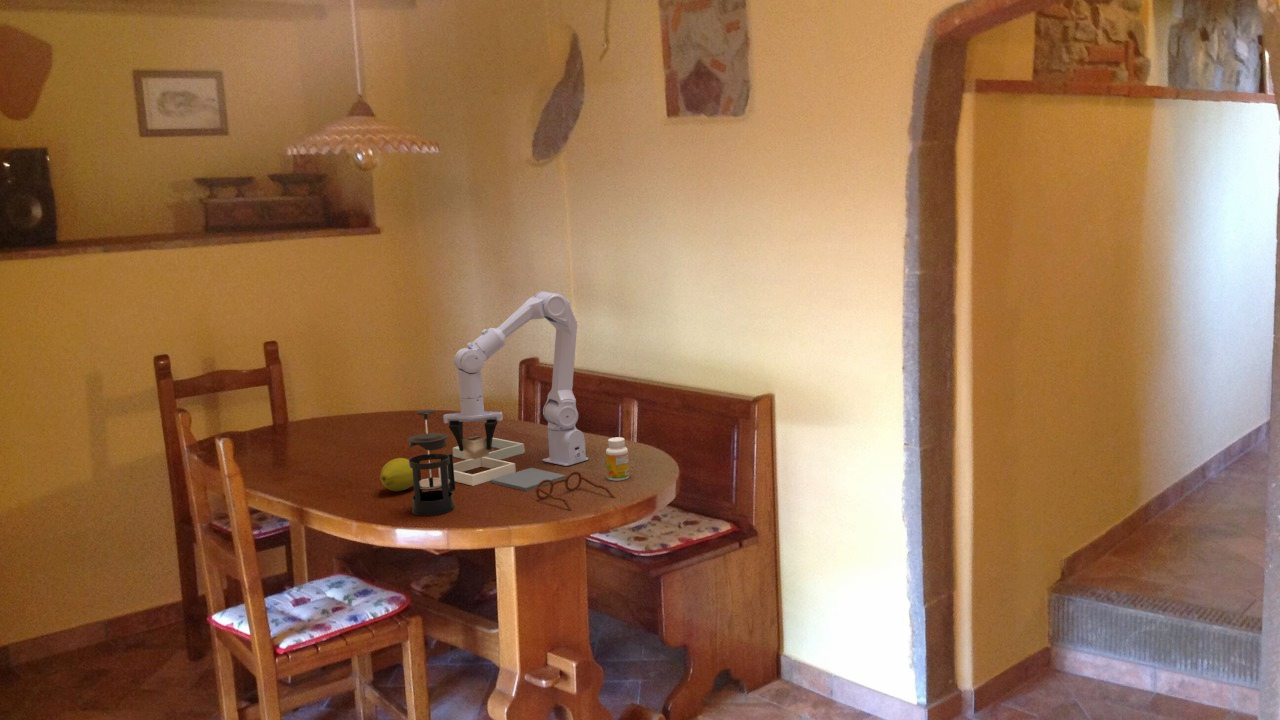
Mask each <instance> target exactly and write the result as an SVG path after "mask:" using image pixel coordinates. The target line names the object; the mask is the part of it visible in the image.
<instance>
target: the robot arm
mask: <svg viewBox="0 0 1280 720" xmlns="http://www.w3.org/2000/svg"><path fill="white" fill-rule="evenodd" d="M540 319H542V320H543V319H546V320H547V321H548V322H549V323H550V324H551V325H552V326H553V327H554V329H555V337H554V338H555V339H554V352H553V353H554V354H553V367H552V379H551V389H550V391H549V392H548V393H547V400H546V402H545V404H544V406H543V409H542V414H543V417H544V419H545V420H546V421H547V439H548V440H547V441H548V443H547V444H548V455H549V456H548V457H547V458H546V457H545V458H542V462H545V463H550V464H555V465H559V466H564V467H567V466H573V465H575V464H578V463H582V462H585V461H588V460H589V457H587V454H586V453H587V452H586V438H585V435H584V432H582V430H579V429H578V428H577V427H576V424H577V422H578V420H579V412H578V410H577V405H576V404H577V399H576V397H575V395H574V393H573V387H574V386H573V385H574V372H575V359H576V347H577V346H576V345H577V344H576V343H577V333H578V321H577V319H576V316H575V315H574V312H573V310H572V308H571V301H569V300H568V299H567V298H566V297H564V295H562V294H560V293H557V292H556V293H554V292H553V293H552V292H549V291H547V290H540V291H538V292H536V294H534V296H530V298H528V299H527V300H526V301H525V302H524V303H523V304H522V305H521V306H519V308H518V309H516V310H515V312H513V313H512V314H511V315H510V316H509V317H508V318H507V319H506V320H504V321H503V322H502V323H501V324H500V325H499V326H498V327H496V328H494V327H489V328H488V329H486V328H484V329H483V330H482V331H481V335H479V336H478V337H477V338H476V339H474V340H473V341H472V342H470V341H469V342H468V343H467V344H466V346H467V347H464V348H461V349H459V350H458V351H457V352H456V354H455V356H454V359H453V365H454V366H455V367H456V368H457V373H458V374H457V376H458V379H457V381H458V392H459V403H460V412H454V413H445V414H444V415H443V423H444V424H448V423H449V425H448V428H449V430H450V432H451V433H452V434H453V436H454V438H455V441H456V443H457V446H459V450H460V451H463V445H462V439H464V433H463V429H464V428H463V427H464V425H463V424H464V423H467V422H468V423H469V422H485V423H484V429H485V436H486V438H487V450H489V451H491V450H492V448H493V447H492V439H493V438H494V433H495V431H496V427H497V424H498V423H499V422H501V421H503V419H504V418H503V415H504V414H503V411H487V410H486V411H485V407H484V406H485V404H484V403H485V402H484V393H483V392H484V391H483V382H482V381H483V380H482V370H483V367H484V365H485V362H487V361H488V360H489V359H490V358H491V357H493V356H494V355H495V354H496V353H497V352H499V351H500V350H502V348H503V347H505V346H506V341H507V338H508V337H510V336H511V335H512V334H514V333H515V332H516V331H518V330H519V329H520V328H522V327H524V326H525V325H526V324H527V323H528V322H530V321H531V320H540Z"/></svg>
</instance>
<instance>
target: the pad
mask: <svg viewBox="0 0 1280 720" xmlns="http://www.w3.org/2000/svg"><path fill="white" fill-rule="evenodd" d="M566 477H567V475H566V474H561V473H557V472H553V471H547V470H544V469H540V468H535V467H529V468H525V469H522V470H519V471H516V472H515V473H512V474H508V475H505V476H501V477H498V478H495V479H491V481H490V483H491V484H494V485H499V486H503V487H507V488H512V489H516V490H520V491H523V492H527V491H531V490H534V489H536V488H537V486H538V484H539V483H540V482H541V481H543V480H546V479H548V480H550V481H552V482H555V481H557V480H561V479H565V480H566ZM546 485H547V486H548V485H550V483H549V482H545V483H543V484H542V485H541V486H540V488H541V487H544V486H546Z"/></svg>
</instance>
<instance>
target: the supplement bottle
mask: <svg viewBox="0 0 1280 720" xmlns="http://www.w3.org/2000/svg"><path fill="white" fill-rule="evenodd" d="M625 444H626V442H625V438H624V437H621V436H620V437H617V436H615V437H611V438H608V440H607V445H608V447H607V448H606V450H605V459H606V476H607V480H610V481H613V482H614V481H617V482H620V481H625V480H628V479H629V478H630V465H629V464H630V461H629V450H628V449H629V448H627V447H626V446H625Z"/></svg>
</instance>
